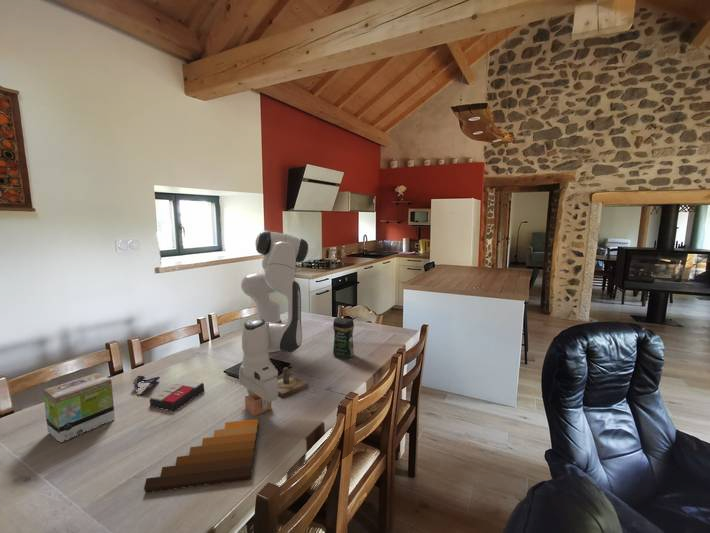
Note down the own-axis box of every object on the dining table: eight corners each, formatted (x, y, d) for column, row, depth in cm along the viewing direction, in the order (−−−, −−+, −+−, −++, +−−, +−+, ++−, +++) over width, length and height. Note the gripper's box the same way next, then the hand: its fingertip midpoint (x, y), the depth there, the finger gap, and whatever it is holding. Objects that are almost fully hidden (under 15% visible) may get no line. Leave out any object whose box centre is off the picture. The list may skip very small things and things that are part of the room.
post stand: (264, 386, 140) (264, 367, 139) (290, 376, 148) (289, 358, 147) (282, 397, 132) (281, 377, 130) (308, 386, 140) (307, 367, 139)
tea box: (60, 444, 105) (54, 398, 103) (47, 433, 110) (41, 389, 108) (116, 420, 118) (111, 378, 116) (102, 411, 123) (97, 370, 121)
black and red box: (148, 397, 125) (181, 377, 139) (150, 408, 126) (182, 387, 140) (173, 402, 122) (204, 381, 136) (174, 414, 123) (205, 391, 137)
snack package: (119, 394, 135) (145, 397, 132) (119, 377, 135) (145, 379, 133) (144, 385, 147) (168, 387, 144) (144, 369, 147) (169, 371, 144)
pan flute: (144, 496, 87) (250, 482, 91) (143, 483, 86) (249, 470, 91) (176, 434, 111) (259, 425, 115) (175, 424, 111) (258, 416, 115)
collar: (245, 408, 124) (244, 396, 124) (261, 401, 129) (261, 390, 128) (254, 415, 120) (254, 403, 119) (271, 408, 125) (270, 396, 124)
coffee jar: (330, 356, 169) (330, 319, 166) (339, 351, 176) (338, 314, 173) (348, 360, 165) (348, 322, 162) (356, 354, 171) (356, 317, 169)
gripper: (233, 360, 127) (235, 396, 129) (264, 379, 113) (265, 419, 115) (249, 355, 132) (251, 390, 134) (280, 372, 117) (282, 411, 120)
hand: (258, 403), depth 124 cm, fingers closed on collar, 6 cm apart
